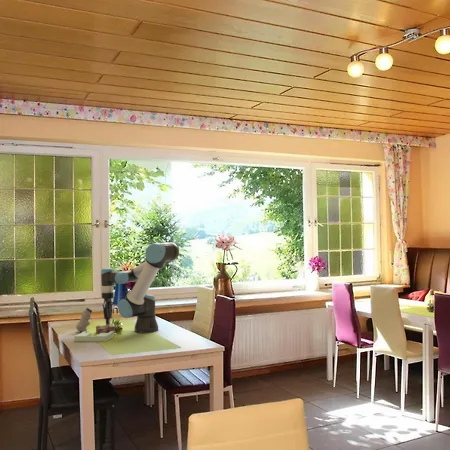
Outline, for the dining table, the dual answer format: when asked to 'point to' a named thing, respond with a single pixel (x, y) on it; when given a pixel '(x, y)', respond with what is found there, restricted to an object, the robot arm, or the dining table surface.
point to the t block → (105, 328)
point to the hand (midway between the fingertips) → (108, 328)
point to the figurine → (84, 320)
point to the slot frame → (100, 337)
